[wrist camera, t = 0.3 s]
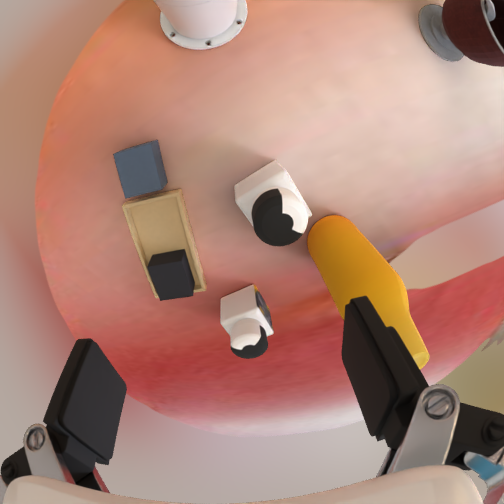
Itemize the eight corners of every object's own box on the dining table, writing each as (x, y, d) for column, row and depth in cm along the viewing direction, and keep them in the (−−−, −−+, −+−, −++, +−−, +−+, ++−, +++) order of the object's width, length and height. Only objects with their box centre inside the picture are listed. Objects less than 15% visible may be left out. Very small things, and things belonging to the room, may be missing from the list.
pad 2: (152, 254, 47) (146, 266, 43) (184, 248, 47) (181, 260, 43) (164, 287, 50) (160, 300, 47) (195, 282, 50) (193, 296, 47)
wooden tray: (125, 201, 42) (121, 205, 41) (181, 188, 42) (178, 192, 41) (157, 291, 51) (155, 298, 49) (206, 284, 51) (206, 290, 49)
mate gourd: (464, 19, 27) (535, 14, 9) (466, 75, 34) (544, 84, 16) (405, -13, 25) (477, -40, 8) (408, 47, 32) (492, 36, 15)
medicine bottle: (269, 308, 55) (278, 354, 45) (237, 321, 56) (240, 368, 46) (254, 282, 52) (261, 328, 41) (219, 297, 53) (219, 343, 42)
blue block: (122, 149, 38) (113, 154, 35) (157, 139, 38) (150, 142, 35) (133, 190, 42) (125, 198, 38) (167, 182, 42) (162, 189, 38)
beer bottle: (295, 245, 49) (354, 386, 23) (328, 203, 45) (427, 321, 20) (332, 268, 52) (400, 397, 26) (363, 230, 48) (459, 344, 23)
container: (259, 223, 46) (270, 264, 35) (233, 185, 43) (235, 216, 31) (300, 198, 45) (325, 232, 33) (275, 158, 41) (294, 179, 30)
